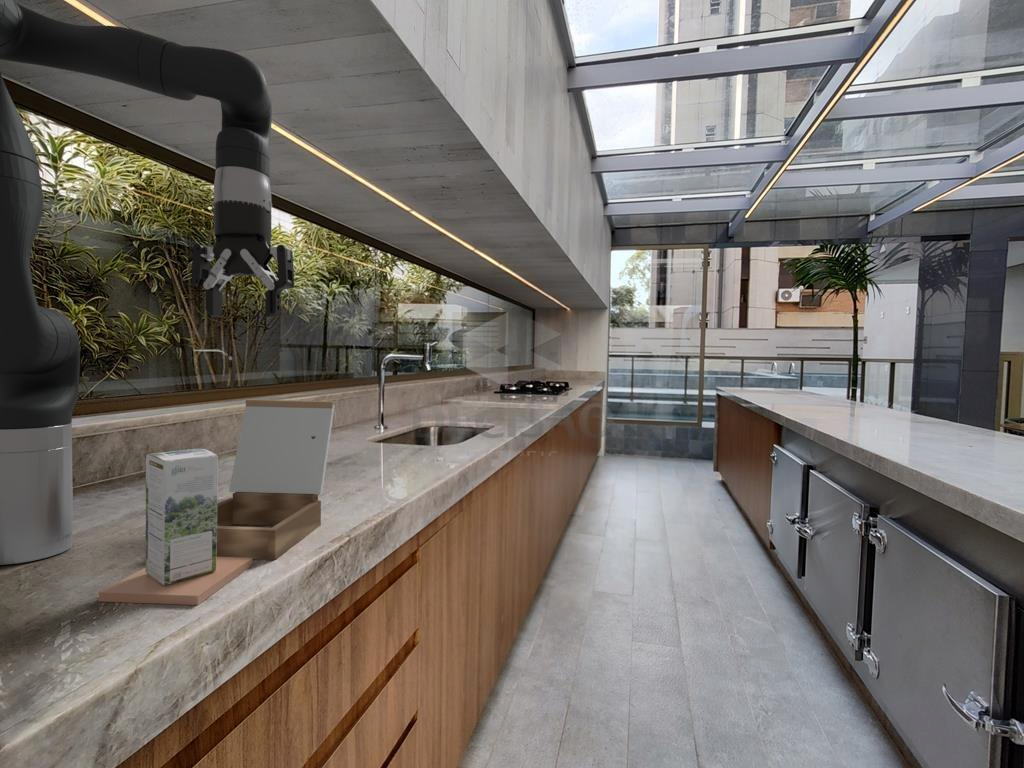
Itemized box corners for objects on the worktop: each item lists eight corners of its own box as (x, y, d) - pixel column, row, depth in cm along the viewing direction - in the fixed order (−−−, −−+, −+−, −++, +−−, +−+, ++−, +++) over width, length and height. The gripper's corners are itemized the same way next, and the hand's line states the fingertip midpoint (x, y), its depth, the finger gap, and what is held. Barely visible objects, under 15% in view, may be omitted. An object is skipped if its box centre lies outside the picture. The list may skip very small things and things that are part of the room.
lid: (228, 493, 83) (228, 402, 83) (249, 484, 89) (249, 399, 89) (320, 495, 83) (320, 404, 82) (334, 486, 89) (335, 401, 88)
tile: (98, 601, 56) (98, 592, 56) (169, 562, 67) (169, 554, 67) (197, 604, 55) (197, 595, 55) (252, 565, 66) (252, 557, 66)
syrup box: (197, 560, 65) (197, 446, 65) (218, 572, 62) (218, 452, 61) (144, 574, 61) (144, 452, 60) (164, 588, 57) (163, 458, 57)
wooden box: (165, 556, 69) (164, 452, 68) (243, 515, 88) (243, 433, 87) (275, 559, 68) (275, 455, 68) (330, 517, 87) (330, 435, 87)
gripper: (178, 197, 72) (179, 313, 73) (277, 198, 71) (277, 315, 72) (212, 213, 79) (212, 318, 80) (302, 214, 79) (302, 319, 79)
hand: (243, 316), depth 76 cm, fingers open, 8 cm apart
